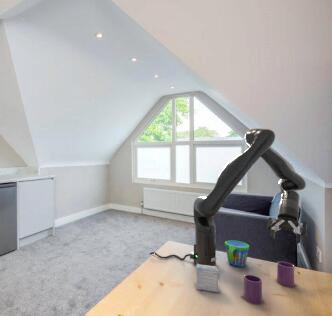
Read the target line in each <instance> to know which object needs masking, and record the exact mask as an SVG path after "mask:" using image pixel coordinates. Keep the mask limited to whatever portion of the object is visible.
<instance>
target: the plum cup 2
mask: <svg viewBox="0 0 332 316" xmlns="http://www.w3.org/2000/svg"><path fill="white" fill-rule="evenodd" d="M276 278H277V279H276V280H277V283H278V284H279V285H281V286H284V287H288V288H293V287H295V265H294V264H293V263H290V262H288V261H277V263H276Z"/></svg>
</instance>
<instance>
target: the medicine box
mask: <svg viewBox="0 0 332 316" xmlns="http://www.w3.org/2000/svg"><path fill="white" fill-rule="evenodd" d="M195 274H196V276H195V283H196V284H195V285H196V289H197V290H199V291H208V292H213V293H219V270H218V267H217V265H216V266H208V265H199V264H195Z"/></svg>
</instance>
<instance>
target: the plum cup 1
mask: <svg viewBox="0 0 332 316" xmlns="http://www.w3.org/2000/svg"><path fill="white" fill-rule="evenodd" d="M243 299H244V300H245V301H246V302H248V303H251V304H255V305H261V304H262V303H263V280H262V278H261V277H259V276H257V275H254V274H245V275H243Z"/></svg>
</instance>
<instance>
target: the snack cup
mask: <svg viewBox="0 0 332 316" xmlns="http://www.w3.org/2000/svg"><path fill="white" fill-rule="evenodd" d="M224 246H225V251H226V257H227V262H228V264H230V265H231V266H234V267H241V268H243V267H246V265H247V261H248V254H249V250H250V245H249V244H248V243H246V242H244V241H240V240H233V239H231V240H226V241H224Z"/></svg>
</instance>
